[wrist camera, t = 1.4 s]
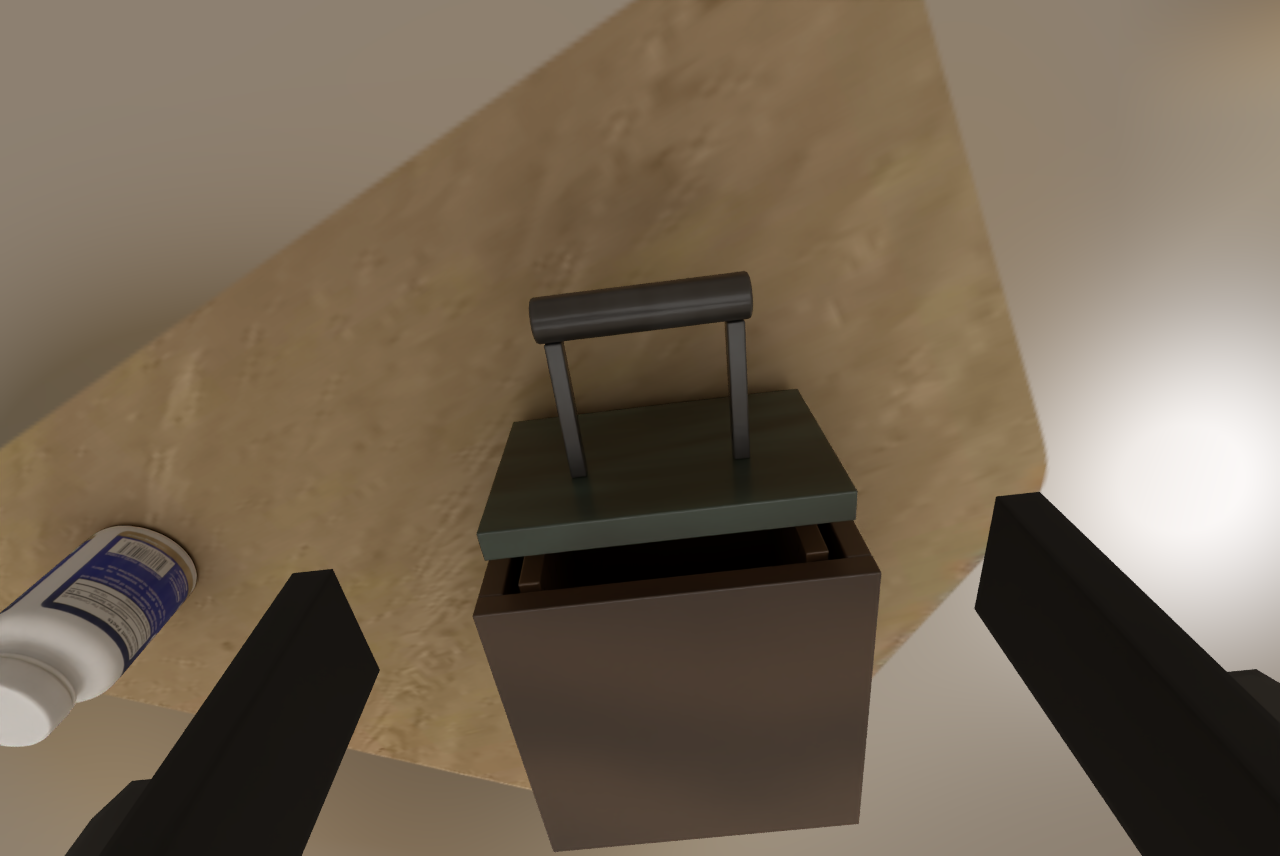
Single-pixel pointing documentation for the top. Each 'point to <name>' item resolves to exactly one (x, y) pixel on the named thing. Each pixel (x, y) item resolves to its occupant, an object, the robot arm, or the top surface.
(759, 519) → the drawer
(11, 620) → the pill bottle
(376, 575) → the top surface
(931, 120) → the top surface
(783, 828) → the brown rectangular box
